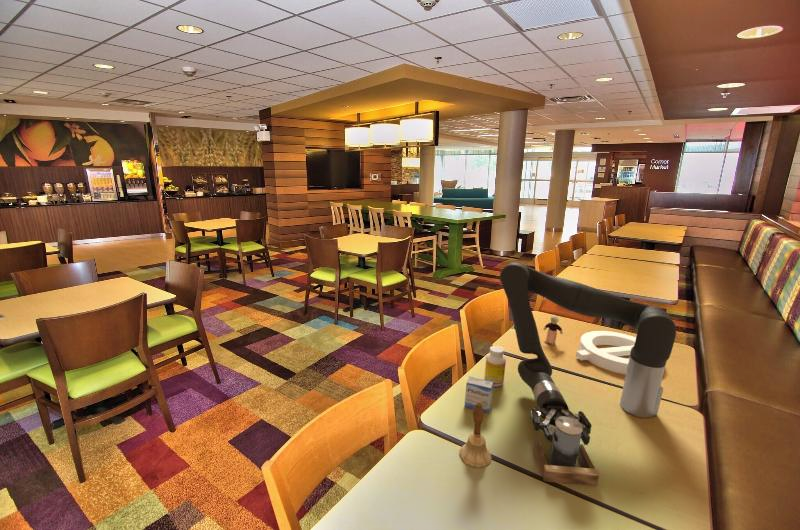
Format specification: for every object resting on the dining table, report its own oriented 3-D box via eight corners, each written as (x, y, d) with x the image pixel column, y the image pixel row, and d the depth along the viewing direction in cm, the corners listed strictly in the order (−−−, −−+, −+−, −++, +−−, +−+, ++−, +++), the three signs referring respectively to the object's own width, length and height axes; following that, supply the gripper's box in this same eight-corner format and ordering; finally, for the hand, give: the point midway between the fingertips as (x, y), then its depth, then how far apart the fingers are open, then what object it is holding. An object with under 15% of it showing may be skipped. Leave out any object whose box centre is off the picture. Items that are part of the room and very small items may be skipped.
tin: (570, 456, 99) (577, 417, 96) (579, 475, 93) (586, 434, 90) (546, 454, 99) (552, 415, 96) (553, 473, 93) (560, 432, 90)
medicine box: (464, 406, 118) (465, 382, 116) (467, 398, 122) (468, 375, 120) (489, 413, 115) (491, 388, 113) (491, 404, 119) (494, 381, 117)
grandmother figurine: (541, 343, 160) (545, 316, 156) (541, 339, 163) (545, 312, 159) (561, 347, 157) (565, 319, 153) (561, 343, 160) (565, 315, 157)
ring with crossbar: (659, 352, 154) (661, 342, 153) (659, 385, 132) (662, 373, 130) (584, 335, 169) (586, 325, 168) (573, 361, 146) (575, 350, 145)
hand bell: (485, 473, 93) (490, 418, 89) (454, 459, 97) (458, 406, 93) (495, 451, 100) (501, 400, 96) (466, 439, 104) (470, 389, 100)
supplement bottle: (504, 388, 128) (507, 354, 124) (484, 386, 129) (487, 352, 125) (502, 377, 134) (506, 345, 130) (483, 375, 135) (486, 343, 132)
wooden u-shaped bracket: (580, 453, 100) (583, 441, 99) (596, 485, 90) (599, 472, 89) (533, 450, 101) (534, 438, 100) (544, 481, 91) (545, 468, 90)
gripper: (525, 387, 108) (541, 426, 92) (576, 390, 107) (601, 430, 91) (523, 409, 110) (538, 451, 94) (573, 412, 109) (596, 455, 93)
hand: (569, 440), depth 93 cm, fingers open, 8 cm apart
